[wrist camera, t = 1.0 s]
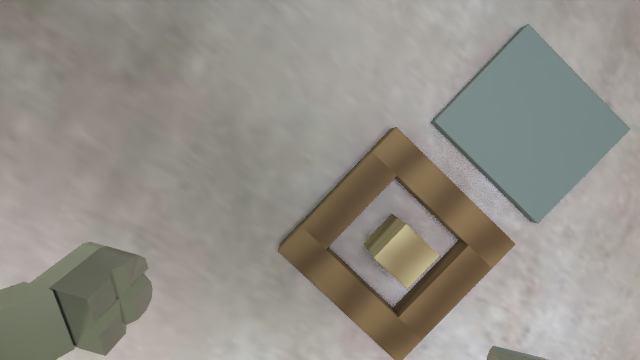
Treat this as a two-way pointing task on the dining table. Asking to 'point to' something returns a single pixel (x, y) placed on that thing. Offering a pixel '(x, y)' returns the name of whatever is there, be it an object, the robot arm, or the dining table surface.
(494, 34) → the dining table surface
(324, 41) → the dining table surface
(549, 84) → the slate pad
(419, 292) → the pocket block
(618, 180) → the dining table surface
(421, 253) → the maple peg
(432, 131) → the dining table surface
